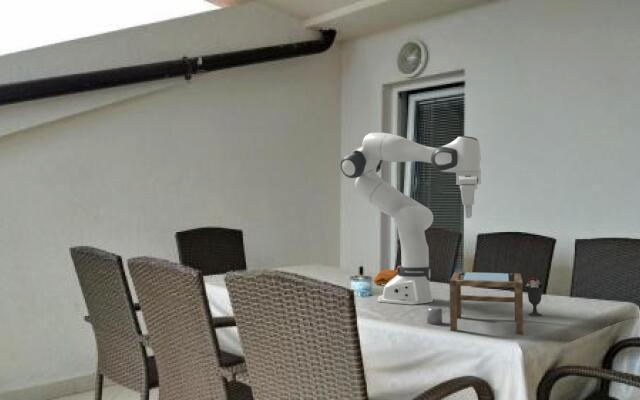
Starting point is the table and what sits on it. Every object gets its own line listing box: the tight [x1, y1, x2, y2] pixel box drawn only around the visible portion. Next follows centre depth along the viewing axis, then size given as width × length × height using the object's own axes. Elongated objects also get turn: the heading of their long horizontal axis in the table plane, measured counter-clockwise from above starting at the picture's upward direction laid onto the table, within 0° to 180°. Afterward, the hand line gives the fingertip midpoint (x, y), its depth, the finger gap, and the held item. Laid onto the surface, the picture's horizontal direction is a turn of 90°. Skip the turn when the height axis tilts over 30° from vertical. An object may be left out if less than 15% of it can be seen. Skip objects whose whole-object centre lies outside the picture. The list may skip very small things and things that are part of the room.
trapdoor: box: [462, 271, 510, 281], centre depth 197 cm, size 14×18×2 cm
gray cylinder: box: [426, 306, 443, 326], centre depth 201 cm, size 5×5×5 cm
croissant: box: [373, 269, 398, 285], centre depth 289 cm, size 14×16×8 cm
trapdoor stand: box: [449, 271, 524, 335], centre depth 196 cm, size 22×22×16 cm
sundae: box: [524, 272, 545, 317], centre depth 212 cm, size 7×7×15 cm
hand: (468, 217), depth 218 cm, fingers open, 8 cm apart
